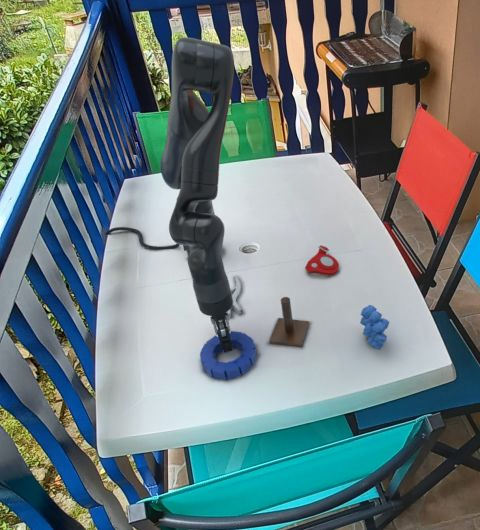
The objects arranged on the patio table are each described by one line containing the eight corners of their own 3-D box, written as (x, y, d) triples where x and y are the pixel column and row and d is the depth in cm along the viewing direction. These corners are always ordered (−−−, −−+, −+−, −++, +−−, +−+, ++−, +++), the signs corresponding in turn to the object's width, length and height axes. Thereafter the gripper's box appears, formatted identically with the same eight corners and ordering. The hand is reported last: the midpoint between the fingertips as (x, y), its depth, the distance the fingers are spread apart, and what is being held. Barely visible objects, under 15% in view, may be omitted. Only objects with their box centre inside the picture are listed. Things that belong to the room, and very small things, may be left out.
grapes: (398, 355, 119) (401, 320, 112) (373, 364, 117) (373, 328, 110) (379, 323, 128) (380, 288, 120) (355, 330, 125) (354, 295, 118)
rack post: (269, 343, 122) (263, 309, 114) (278, 320, 128) (273, 287, 121) (301, 347, 121) (297, 313, 114) (308, 323, 127) (305, 290, 120)
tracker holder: (346, 268, 143) (316, 273, 137) (341, 278, 146) (312, 284, 140) (327, 239, 149) (298, 243, 143) (323, 250, 152) (294, 254, 146)
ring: (194, 376, 114) (191, 368, 112) (214, 336, 123) (212, 328, 121) (246, 382, 112) (244, 374, 111) (262, 342, 122) (261, 334, 120)
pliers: (236, 273, 140) (252, 305, 130) (237, 277, 141) (253, 309, 131) (201, 283, 136) (215, 317, 126) (202, 287, 137) (216, 322, 127)
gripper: (191, 274, 114) (205, 326, 125) (199, 316, 104) (214, 367, 114) (224, 267, 116) (235, 318, 127) (235, 306, 106) (247, 358, 117)
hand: (225, 341), depth 121 cm, fingers open, 5 cm apart
